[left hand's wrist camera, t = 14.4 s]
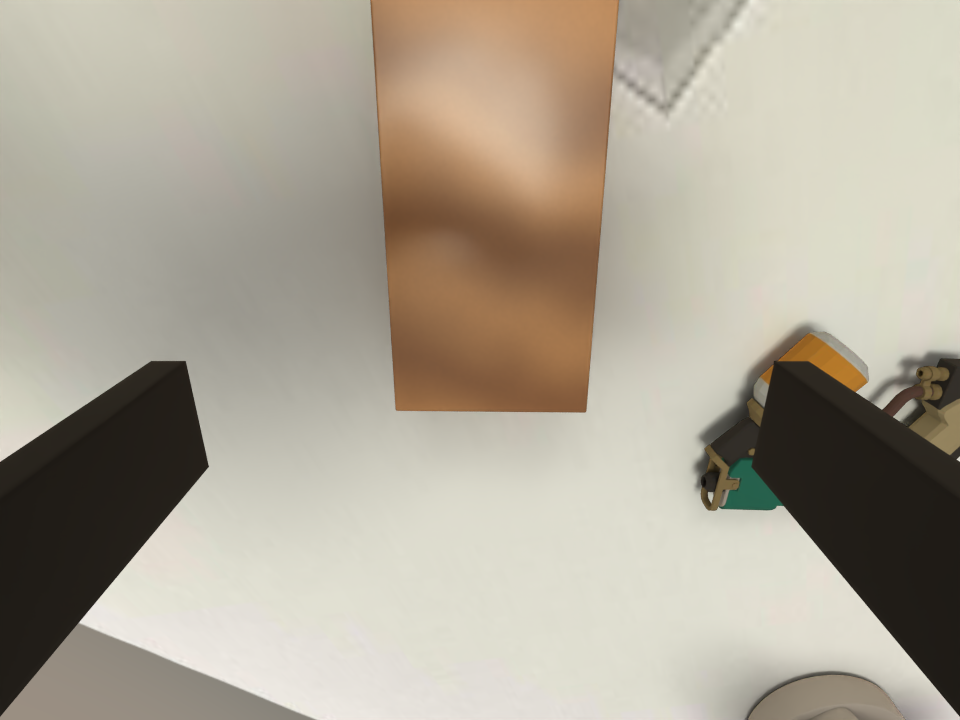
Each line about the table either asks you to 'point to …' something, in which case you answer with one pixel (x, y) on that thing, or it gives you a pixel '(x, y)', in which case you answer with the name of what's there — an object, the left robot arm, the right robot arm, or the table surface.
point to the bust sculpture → (827, 701)
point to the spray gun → (943, 389)
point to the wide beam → (493, 196)
